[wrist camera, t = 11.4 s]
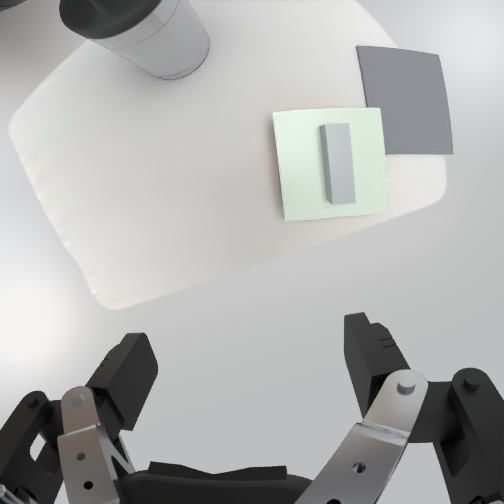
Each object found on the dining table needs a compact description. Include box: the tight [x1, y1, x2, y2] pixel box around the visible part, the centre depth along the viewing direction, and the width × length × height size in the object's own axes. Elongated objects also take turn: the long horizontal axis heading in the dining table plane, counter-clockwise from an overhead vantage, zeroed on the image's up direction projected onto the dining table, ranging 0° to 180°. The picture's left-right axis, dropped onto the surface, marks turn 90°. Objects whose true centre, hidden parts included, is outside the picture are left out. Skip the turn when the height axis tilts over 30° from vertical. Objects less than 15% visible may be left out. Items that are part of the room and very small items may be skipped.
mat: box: [356, 46, 453, 154], centre depth 32 cm, size 15×13×1 cm
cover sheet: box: [272, 108, 388, 222], centre depth 29 cm, size 12×12×4 cm
